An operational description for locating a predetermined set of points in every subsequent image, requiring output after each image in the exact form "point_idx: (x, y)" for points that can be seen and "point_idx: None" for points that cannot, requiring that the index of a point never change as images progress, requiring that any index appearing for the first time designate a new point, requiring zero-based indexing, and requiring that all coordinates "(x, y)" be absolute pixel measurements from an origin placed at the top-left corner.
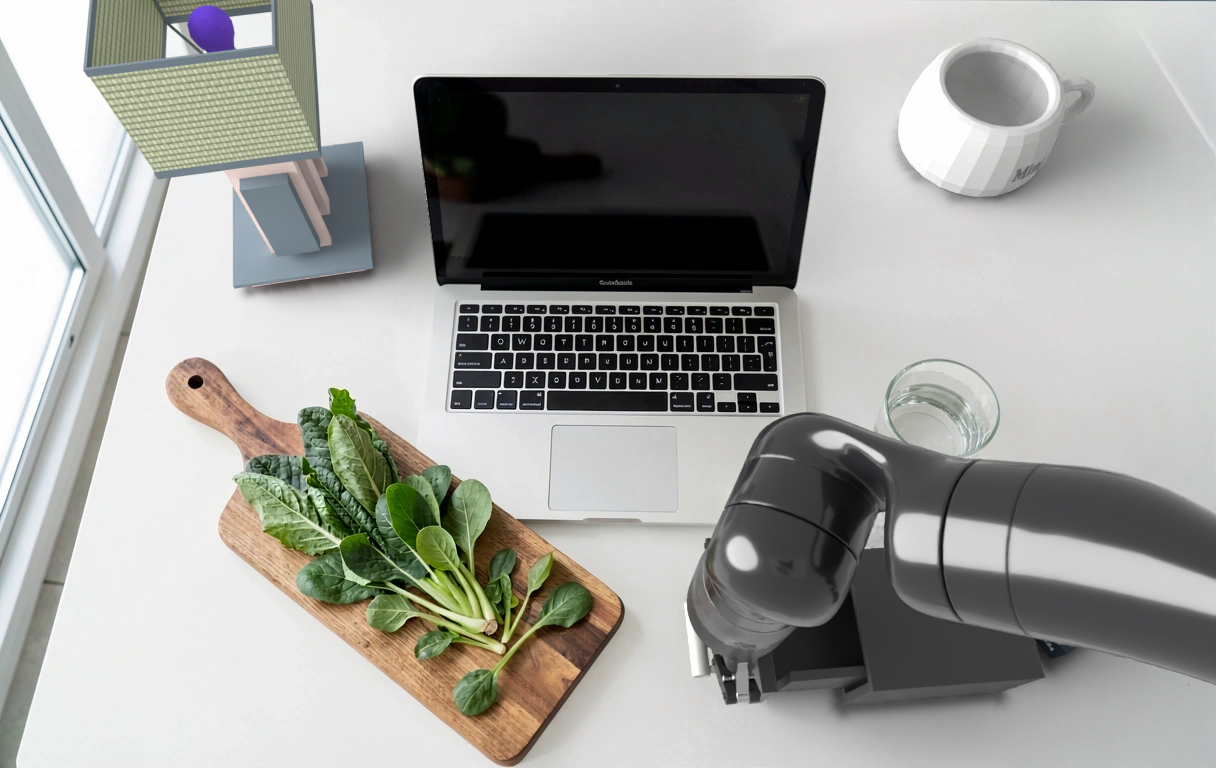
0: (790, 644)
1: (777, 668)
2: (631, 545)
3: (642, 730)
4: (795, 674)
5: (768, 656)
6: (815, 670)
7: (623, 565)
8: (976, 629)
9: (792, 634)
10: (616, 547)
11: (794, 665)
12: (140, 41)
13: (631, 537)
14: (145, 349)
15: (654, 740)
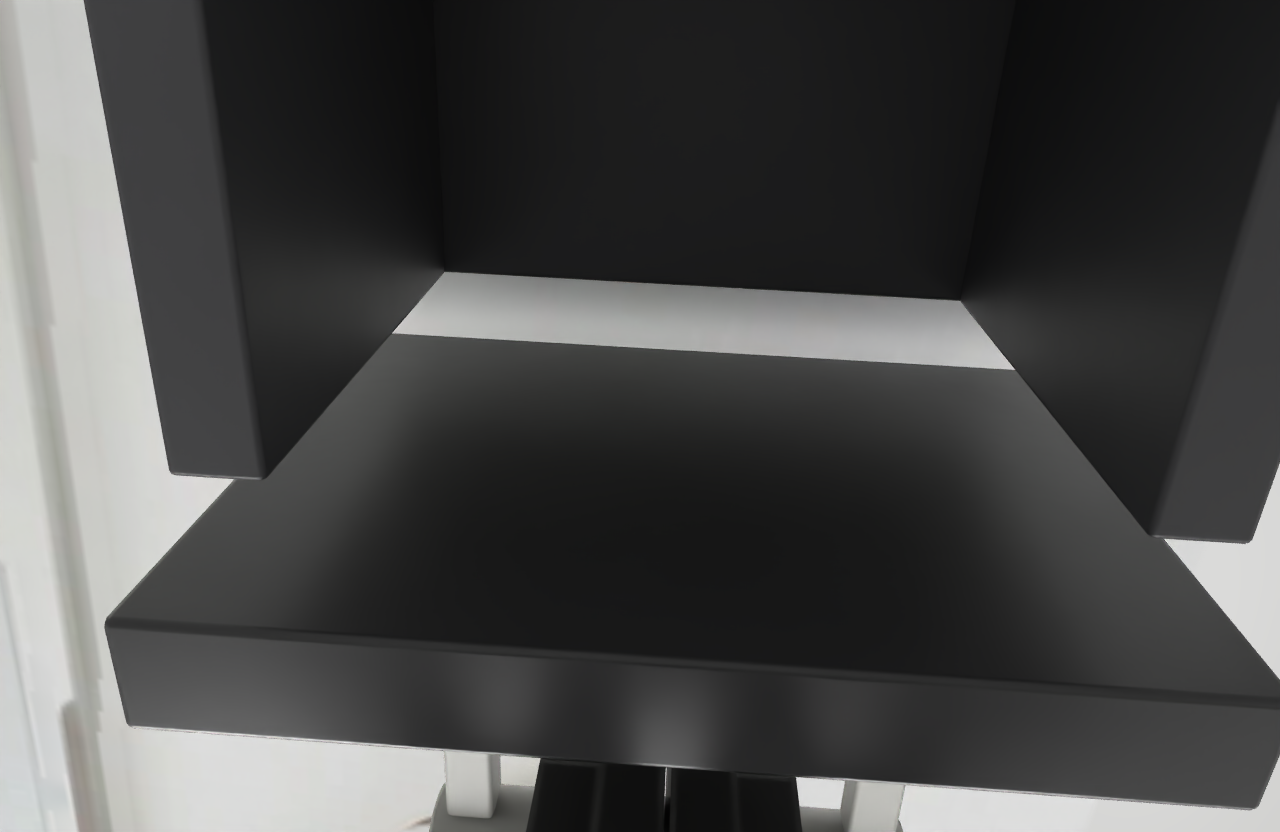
0: (749, 162)
1: (882, 281)
2: (189, 753)
3: (973, 828)
4: (1196, 496)
5: (961, 711)
6: (1239, 291)
7: (280, 792)
8: None
9: (685, 133)
10: (203, 803)
11: (887, 163)
12: None
13: (152, 747)
14: None
15: (1026, 797)
